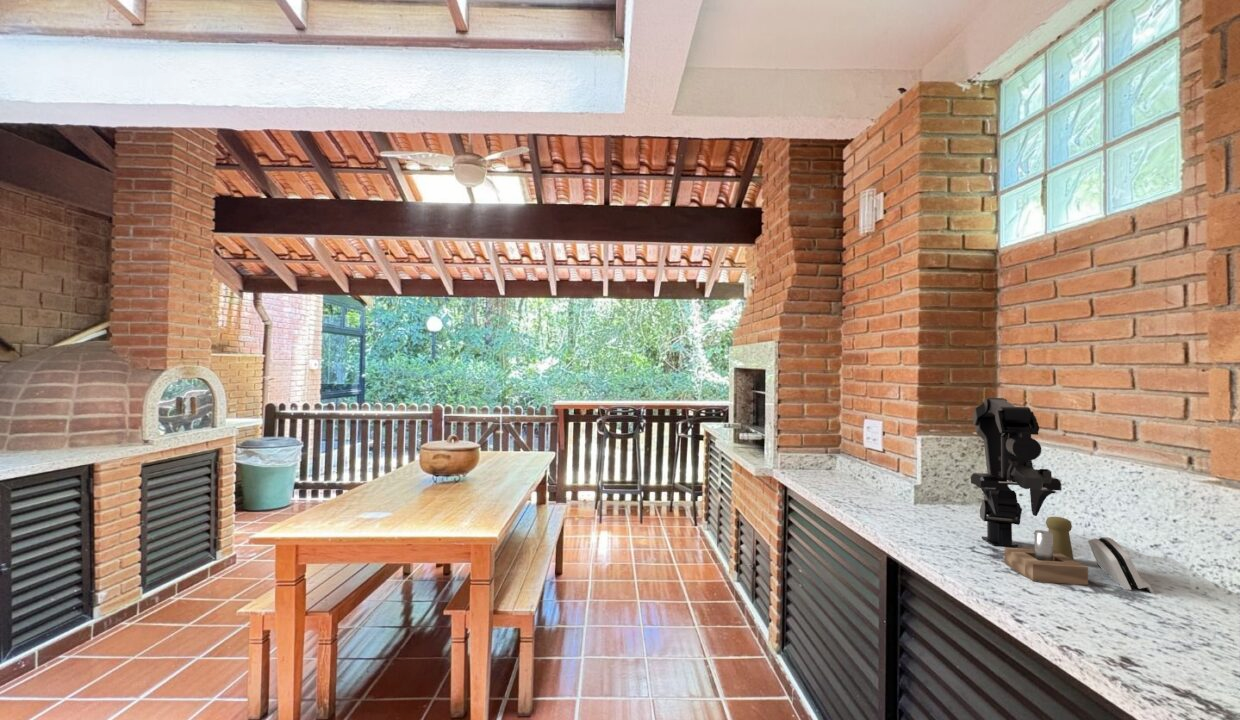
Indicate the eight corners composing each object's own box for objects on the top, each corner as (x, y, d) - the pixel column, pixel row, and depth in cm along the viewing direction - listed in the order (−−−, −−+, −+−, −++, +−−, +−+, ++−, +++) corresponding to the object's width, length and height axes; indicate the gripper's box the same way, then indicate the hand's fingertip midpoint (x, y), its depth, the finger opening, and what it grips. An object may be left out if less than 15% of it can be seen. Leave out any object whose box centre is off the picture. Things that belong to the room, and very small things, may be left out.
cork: (1047, 561, 135) (1047, 518, 135) (1041, 554, 140) (1041, 513, 140) (1077, 565, 132) (1077, 522, 132) (1070, 558, 137) (1069, 516, 137)
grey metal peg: (1031, 570, 129) (1031, 529, 129) (1047, 571, 128) (1046, 530, 128) (1040, 575, 125) (1040, 534, 125) (1056, 576, 125) (1056, 535, 125)
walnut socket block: (1004, 563, 133) (1004, 547, 133) (1054, 566, 131) (1054, 550, 131) (1033, 581, 122) (1032, 564, 122) (1088, 584, 120) (1087, 567, 120)
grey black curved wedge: (1155, 594, 115) (1133, 549, 117) (1128, 597, 117) (1108, 553, 119) (1124, 568, 130) (1105, 528, 132) (1100, 571, 132) (1083, 532, 134)
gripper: (992, 458, 129) (993, 521, 128) (1076, 461, 126) (1077, 525, 126) (969, 451, 140) (969, 509, 139) (1046, 453, 137) (1047, 513, 137)
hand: (1015, 514), depth 135 cm, fingers open, 9 cm apart
